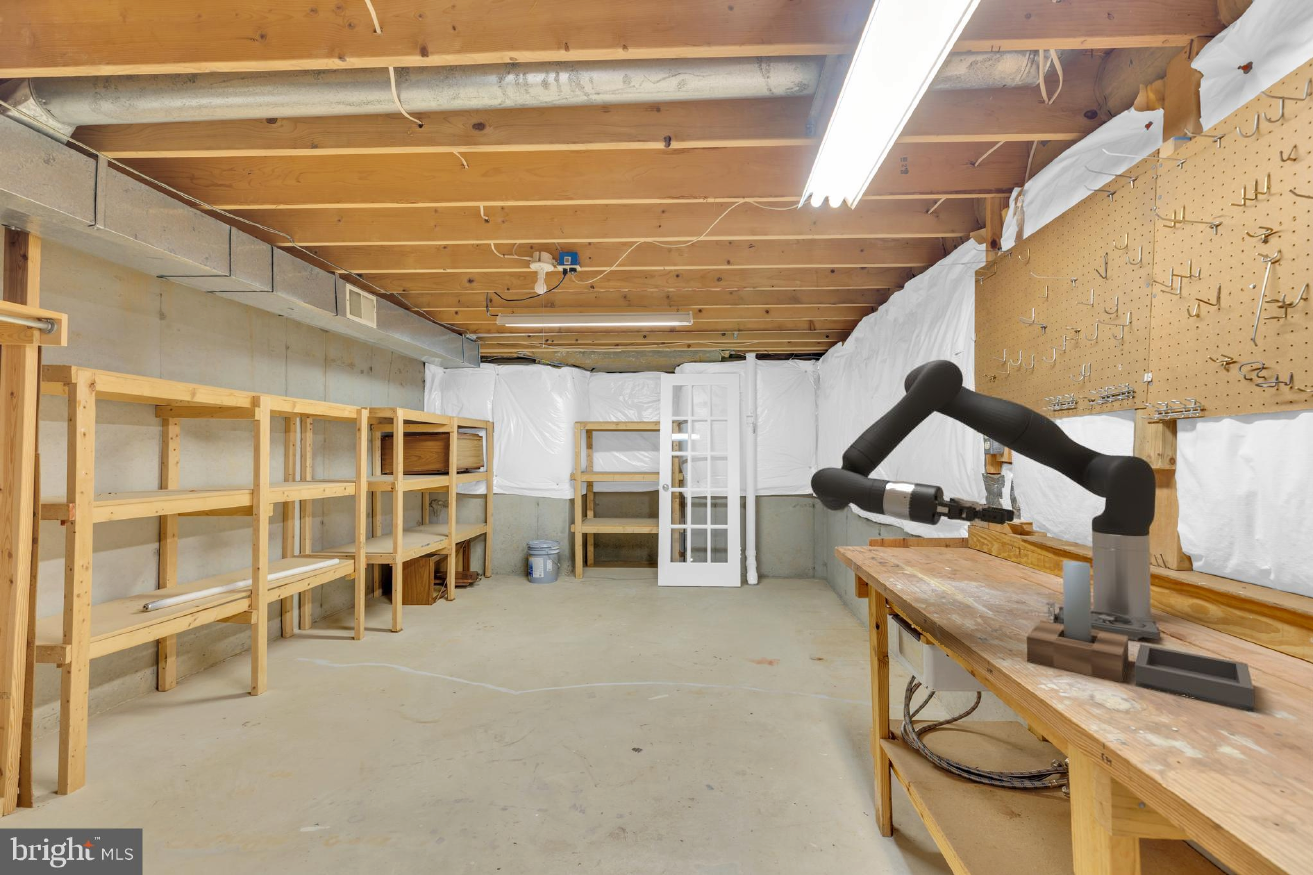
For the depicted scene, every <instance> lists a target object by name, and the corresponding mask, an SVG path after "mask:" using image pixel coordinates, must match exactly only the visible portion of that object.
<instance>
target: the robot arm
mask: <svg viewBox="0 0 1313 875" xmlns="http://www.w3.org/2000/svg"><path fill="white" fill-rule="evenodd" d="M963 383H964V375H963V372H962V370H961V368H960V367H959V366H958V365H957V364H956V363H954V361H950V360H947V359H936V360H931V361H928V362H925V363H924V364H921V365H919V366H917V367H916V368H914V369H913V370H911V371H910V372H909V373H908V374H907V375H906V377H905V379H904V384H903V386H904V391H905V395H903V396H902V398H901V399H900V400H899V401H898V402H897V403H896V404H895V405H894V406H893V407H892V408H891V409H890V410H889V411H887V412H886V413H884V415H882V416H881V417H880V418H878V419H877V420H876V421H875V422H874V423H872V424H871V425H870V426H869V427H867V428H866V430H864V431H863V432H862V433H861V434H860V435H859V436H858V437H857V438H856V439H855V440H854V441H853V443H851V444H850V446H848V447H847V449H846V450H844V452H843V454H842V458H841V459H842V461H841V462H842V463H841V464H842V465H841V467H840V468H839V467H831V466H829V467H824V468H823V467H822V468H821V469H818V470H817V471H816V472H814V473H813V475H812V476H811V479H810V486H811V487H810V488H811V490H812V492H813V494H814V495H815V496H816V498H817V499H818V500H819V502H820V503H821V504H822V506H824V508H826V509H827V510H830V511H840V510H843V509H845V508H847V507H848V506H849V505H851V504H852V505H854V506H856V507H857V508H858V509H860V510H861V511H864V512H866V513H871V514H877V515H881V516H887V517H891V518H894V519H898V520H901V521H902V520H903V521H908V522H915V523H918V524H924V525H931V526H936V525H938V524H939V522H940V521H941V518H942V517H944V518H947V520H951V521H960V522H966V523H967V522H968V523H970V522H974V523H978V522H982V523H983V522H984V523H988V524H989V523H990V524H996V525H1001V526H1002V525H1005V524H1006V522H1009V523H1012V522H1013V521H1014V520H1015V511H1014V510H1013V509H1008V508H1004V507H1003V508H1002V507H997V506H991V505H990V504H988V503H980V502H979V501H975V500H970V499H969V500H967V499H964V498H961V497H949V500H946V499H945V498H944V496H945V495H944V494H945V493H944V489H943V488H942V487H941V486H940V485H933V484H926V483H919V482H911V481H903V480H886V479H881V478H871V477H869V476H870V475H871V474H872V473H873V472H874V471H875V470H876V469H877V468H878V467H879V466H880V465H881V464H882V463H883V461H885V460H886V459H887V458H888V456H889V455H891V453H892V452H893V451H894V450H895V449H896V448H897V447H898V446H899V445H900V444H901V443H902V442H903V441H904V440H905V438H906V437H908V436H909V434H910V433H911V432H912V431H914V430H915V429H916V428H917V427H918V426H919V425H920V424H922V423H923V421H925V420H926V419H927V418H928V417H930V416H931V415H932V414H933V413H934V412H936V413H938V414H941V415H944V416H946V417H949V418H951V419H954V420H955V421H957V422H960V424H963V425H965V426H966V427H968V428H970V429H972V430H974V431H976V432H978V434H981V435H983V436H985V437H986V438H988V439H990V440H992V441H994V442H996V443H997V444H999V445H1000V446H1001V445H1002V446H1004V447H1005V448H1007V449H1008V450H1010V451H1011V450H1012V451H1013V452H1015V453H1017V454H1018V455H1021V456H1024V457H1025V458H1028V459H1030V460H1031V461H1034V462H1036V463H1039V464H1041V465H1043V466H1045V467H1047V468H1050V469H1052V470H1055V471H1057V473H1060V474H1061V475H1063V476H1065V477H1067V478H1068V479H1070V480H1071V481H1072V482H1074V483H1076V484H1078V485H1079V486H1080V487H1082V488H1083V489H1085V490H1086V491H1088V492H1089V493H1091V494H1093V495H1094V496H1098V497H1100V498H1104V499H1105V503H1104V510H1103V511H1102V512H1101V513H1100V514H1098V515H1096V516H1094V517H1093V518H1092V520H1091V542H1092V543H1091V544H1092V546H1091V548H1092V611H1098V612H1105V613H1112V614H1119V615H1126V616H1132V617H1139V618H1146V619H1152V615H1151V614H1152V612H1151V608H1152V607H1151V601H1152V600H1151V599H1152V598H1151V595H1152V594H1151V548H1150V547H1151V546H1150V544H1151V543H1150V540H1151V538H1150V528H1151V525H1152V524H1153V523H1154V519H1155V513H1156V494H1157V492H1156V491H1157V485H1156V484H1157V482H1156V481H1157V480H1156V475H1155V472H1154V469H1153V467H1152V465H1151V464H1150V463H1149V462H1148V461H1147V460H1146V459H1143V458H1142V457H1139V456H1135V455H1119V454H1118V455H1111V454H1105V453H1101V452H1100V451H1099V452H1098V451H1096V450H1095V449H1094V450H1093V449H1091V448H1089V447H1087V446H1084V445H1082V444H1080V443H1079V442H1077V441H1075V440H1074V439H1072V438H1071V437H1069V435H1067V433H1065V431H1064V430H1063V429H1062V428H1061V427H1060V426H1059V424H1057V423H1056V422H1055V421H1053V420H1052V419H1050V418H1049V417H1047V416H1046V415H1043V414H1041V413H1039V412H1038V411H1036V410H1034V409H1031V408H1030V407H1027V406H1026V405H1023V404H1020V403H1017V402H1014V401H1011V400H1008V399H1003V398H999V397H995V396H990V395H987V394H983V393H979V392H976V391H974V390H972V389H969V388H967V387H966V386H964V385H963Z"/></svg>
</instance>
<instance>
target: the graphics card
mask: <svg viewBox="0 0 1313 875" xmlns="http://www.w3.org/2000/svg"><path fill="white" fill-rule="evenodd" d="M1047 606H1048V607H1047V614H1049V615H1048V617H1049V622H1053V623H1059V624H1064V605H1063V606H1061V605H1060V606H1058V612H1057V613H1056V603H1055V602H1051V601H1048V602H1047ZM1156 624H1157V622H1156V620H1154V619H1152V618H1151V619H1146V618H1139V617H1132V616H1126V615H1119V614H1112V613H1105V612H1098V611H1093V610H1091V629H1093V630H1099V631H1104V632H1110V633H1116V634H1121V635H1127V636H1128V640H1130V641H1131V640H1132V641H1139V639H1141V638H1151V639H1154V640H1155V639H1157V640H1158V639H1161V630H1160V627H1158V626H1157V625H1156Z"/></svg>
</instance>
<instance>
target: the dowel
mask: <svg viewBox="0 0 1313 875" xmlns="http://www.w3.org/2000/svg"><path fill="white" fill-rule="evenodd" d="M1062 581H1063V582H1062V586H1063V587H1062V589H1063V592H1062V593H1063V594H1062V595H1063V607H1064V638H1068V639H1073V640H1078V641H1084V642H1089V643H1091V611H1092V597H1091V596H1092V594H1091V593H1092V591H1091V589H1092V588H1091V586H1092V585H1091V584H1092V583H1091V564H1090V563H1088V562H1084V561H1076V560H1064V561H1063V562H1062Z"/></svg>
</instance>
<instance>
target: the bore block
mask: <svg viewBox="0 0 1313 875" xmlns="http://www.w3.org/2000/svg"><path fill="white" fill-rule="evenodd" d="M1028 661H1029V663H1033V664H1037V665H1043V666H1046V667H1051V668H1055V669H1060V670H1065V671H1069V672H1074V673H1078V674H1082V675H1087V676H1091V677H1095V678H1100V679H1104V680H1105V679H1106V680H1109V681H1114V682H1119V683H1123V682H1124V681H1123V680H1124V676H1125V673H1126V670H1127V666H1128V664H1129V639H1128V636H1127V635H1121V634H1116V633H1110V632H1104V631H1099V630H1093V629H1091V643H1089V642H1084V641H1078V640H1073V639H1068V638H1064V624H1060V623H1059V622H1058V623H1053V622H1050V621H1048V620H1042V619H1040V620H1039V622H1038V623H1037V624H1036V625H1035V627H1034V628H1033V629H1032V630H1031V631H1030V633H1029V634H1028V635H1027V636H1026V662H1028Z"/></svg>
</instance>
